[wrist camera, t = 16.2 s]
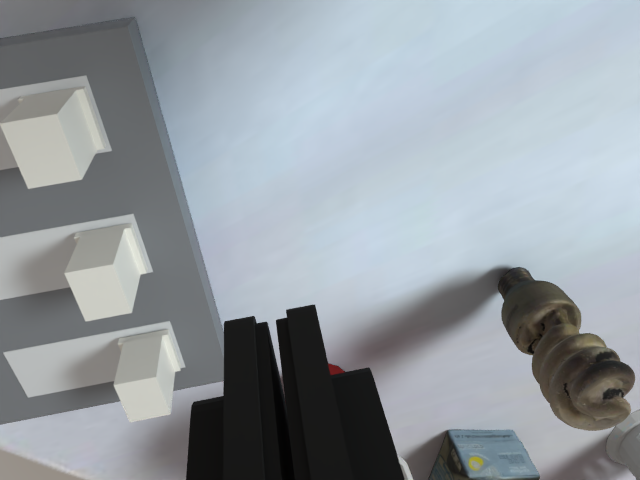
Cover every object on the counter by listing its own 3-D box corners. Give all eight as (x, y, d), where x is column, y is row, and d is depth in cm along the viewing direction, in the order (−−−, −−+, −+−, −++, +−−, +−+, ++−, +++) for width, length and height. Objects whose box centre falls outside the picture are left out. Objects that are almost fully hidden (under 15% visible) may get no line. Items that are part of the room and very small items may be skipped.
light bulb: (532, 300, 50) (638, 439, 37) (471, 307, 49) (558, 450, 36) (543, 245, 47) (662, 374, 34) (479, 252, 46) (576, 386, 33)
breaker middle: (75, 233, 37) (57, 274, 33) (131, 223, 37) (120, 263, 33) (94, 278, 39) (78, 322, 35) (147, 268, 39) (138, 311, 35)
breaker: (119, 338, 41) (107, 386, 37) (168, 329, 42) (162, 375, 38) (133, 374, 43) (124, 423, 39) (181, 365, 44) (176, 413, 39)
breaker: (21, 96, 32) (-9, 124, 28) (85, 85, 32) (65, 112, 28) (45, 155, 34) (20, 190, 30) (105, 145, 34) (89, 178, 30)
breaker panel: (-178, 66, 33) (-213, 81, 30) (135, 17, 34) (127, 26, 31) (12, 396, 47) (-1, 425, 44) (229, 354, 48) (229, 380, 45)
